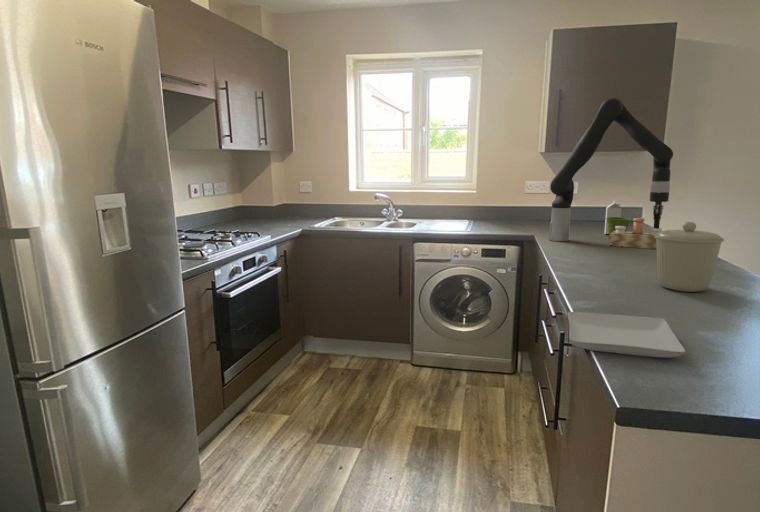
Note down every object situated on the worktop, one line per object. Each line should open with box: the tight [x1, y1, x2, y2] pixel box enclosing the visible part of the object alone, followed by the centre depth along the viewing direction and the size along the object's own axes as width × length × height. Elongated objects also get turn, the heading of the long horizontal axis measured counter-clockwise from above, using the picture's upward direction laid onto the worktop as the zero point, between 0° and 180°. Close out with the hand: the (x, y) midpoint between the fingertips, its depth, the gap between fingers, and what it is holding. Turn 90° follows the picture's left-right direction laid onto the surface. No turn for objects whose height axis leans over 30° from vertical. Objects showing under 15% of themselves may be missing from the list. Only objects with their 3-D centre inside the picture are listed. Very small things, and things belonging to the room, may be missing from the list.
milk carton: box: [604, 200, 622, 235], centre depth 257 cm, size 7×7×19 cm
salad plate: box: [567, 311, 686, 359], centre depth 102 cm, size 21×21×3 cm
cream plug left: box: [615, 226, 626, 234], centre depth 224 cm, size 5×5×8 cm
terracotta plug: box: [632, 217, 645, 235], centre depth 220 cm, size 5×5×8 cm
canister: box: [654, 221, 725, 293], centre depth 143 cm, size 18×18×21 cm
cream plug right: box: [649, 227, 663, 235], centre depth 216 cm, size 5×5×8 cm
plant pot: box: [605, 216, 632, 239], centre depth 241 cm, size 12×12×11 cm
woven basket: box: [609, 231, 657, 250], centre depth 221 cm, size 22×10×6 cm, turn 55°
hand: (656, 228), depth 215 cm, fingers closed
